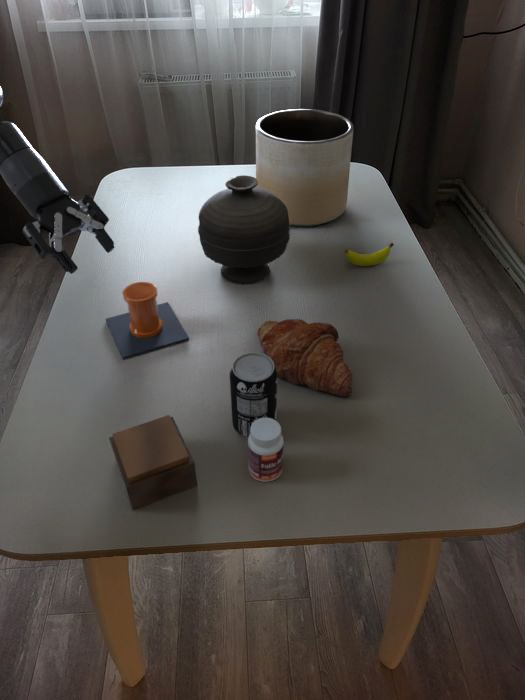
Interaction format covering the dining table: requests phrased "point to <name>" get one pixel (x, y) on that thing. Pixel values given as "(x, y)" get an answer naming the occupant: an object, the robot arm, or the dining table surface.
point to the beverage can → (252, 390)
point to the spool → (143, 309)
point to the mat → (136, 346)
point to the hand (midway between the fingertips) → (93, 260)
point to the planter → (305, 162)
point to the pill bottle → (265, 450)
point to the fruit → (368, 257)
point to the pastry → (307, 355)
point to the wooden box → (153, 461)
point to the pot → (244, 230)
